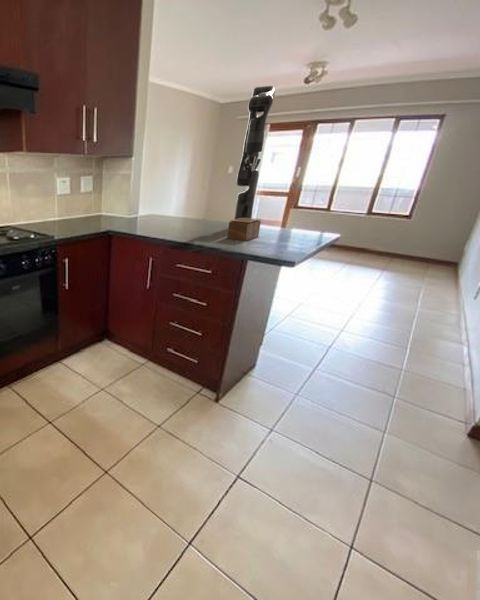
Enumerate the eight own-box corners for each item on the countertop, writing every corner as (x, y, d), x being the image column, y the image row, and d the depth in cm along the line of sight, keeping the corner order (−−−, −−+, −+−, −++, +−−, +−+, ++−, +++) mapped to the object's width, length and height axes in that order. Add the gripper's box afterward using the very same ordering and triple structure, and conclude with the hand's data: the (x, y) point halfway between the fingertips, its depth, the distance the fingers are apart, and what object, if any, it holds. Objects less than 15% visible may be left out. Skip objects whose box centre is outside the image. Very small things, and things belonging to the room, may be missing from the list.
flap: (242, 218, 180) (242, 217, 180) (260, 219, 173) (261, 219, 173) (236, 219, 177) (236, 218, 177) (254, 221, 169) (254, 220, 169)
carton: (240, 234, 184) (242, 217, 180) (258, 236, 176) (261, 219, 173) (227, 238, 177) (229, 220, 173) (245, 240, 169) (248, 222, 166)
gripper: (254, 142, 172) (248, 178, 178) (240, 142, 165) (235, 179, 171) (269, 141, 166) (263, 178, 173) (255, 141, 159) (250, 179, 166)
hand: (249, 178), depth 172 cm, fingers closed
